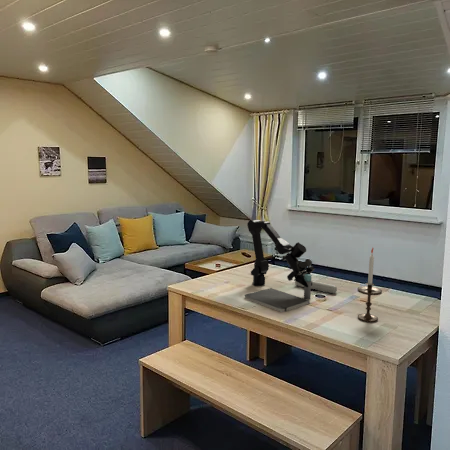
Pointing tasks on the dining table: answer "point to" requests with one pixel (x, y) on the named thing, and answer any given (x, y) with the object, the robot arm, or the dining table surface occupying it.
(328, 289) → the tube
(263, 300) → the notebook
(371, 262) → the candlestick
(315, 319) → the dining table surface
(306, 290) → the ball
